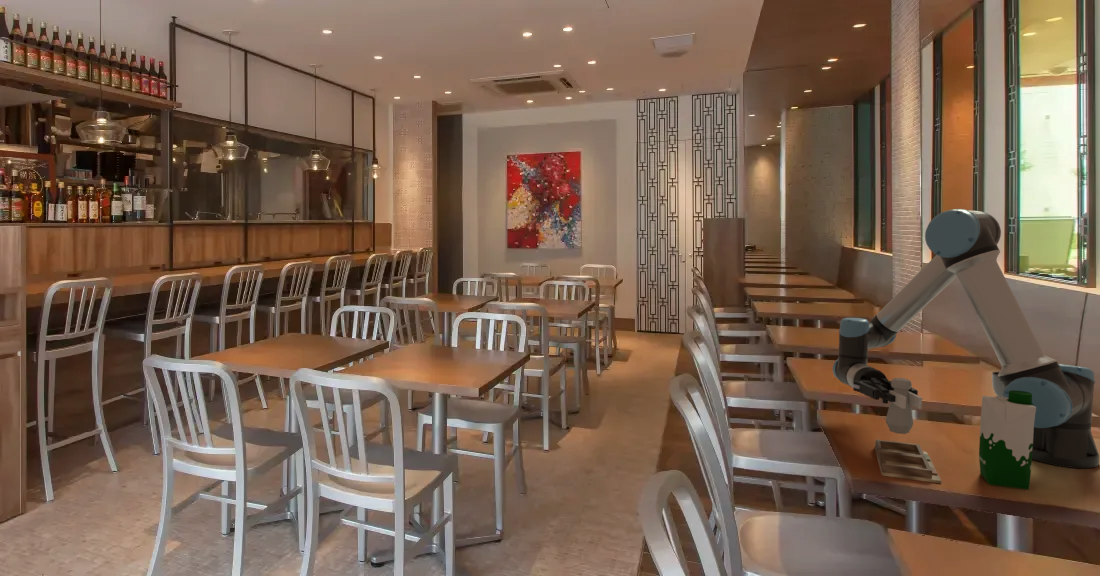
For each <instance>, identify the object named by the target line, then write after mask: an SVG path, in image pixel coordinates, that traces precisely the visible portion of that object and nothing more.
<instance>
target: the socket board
mask: <svg viewBox="0 0 1100 576" xmlns="http://www.w3.org/2000/svg"><path fill="white" fill-rule="evenodd" d="M874 444H875V445H874V450H875V455H876V458H877V461H878V462H877V463H878V465H879V469H880V473H881V476H882V477H883V476H885V477H891V478H897V479H898V478H899V479H905V480H913V481H921V482H926V483H934V484H935V483H936V484H942V479H941V478H940V475H939V473H938V471H937V470H936V467H935V465H934V463H933V462H932V459H931V457H930V456H929V454H928V452H927V451H924V450H923V449H922V446H921V444H917V443H909V442H901V441H894V440H893V441H891V440H885V439H882V440H881V439H875V443H874Z"/></svg>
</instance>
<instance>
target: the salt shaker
mask: <svg viewBox="0 0 1100 576" xmlns="http://www.w3.org/2000/svg"><path fill="white" fill-rule="evenodd" d="M890 381H891V387H892V388H894V392H897V393H899V394H901V395H903V396H905V397H906V409H902V408H900V407H899V406H897V405H895V404H893V403H891V402H890V403H889V407H888V409H887V413H886V417H885V423H886V425H887V427H888V430H889V431H890V432H893V433H895V434H903V435H906V434H908V433H910V431H911V429H912V428H913V426H914V418H913V413H912V405H910V404H909V395H908V392H909V391H908V390H909V389H911V387H913V385H912V381H911V380H910V379H908V378H904V377H893V379H891V380H890Z"/></svg>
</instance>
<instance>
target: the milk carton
mask: <svg viewBox="0 0 1100 576" xmlns="http://www.w3.org/2000/svg"><path fill="white" fill-rule="evenodd" d="M981 397H982V399H981V410H980V411H981V412H980V426H979V429H980V431H979V443H978V444H979V446H978V448H979V449H978V453H979V454H978V459H979V472H980V473H979V474H981V476H982V477H983V479H984V481H986V482H987V484H988V485H991V486H996V487H997V486H998V487H1005V488H1013V489H1023V490H1030V482H1031V481H1030V480H1031V474H1032V473H1031V472H1032V463H1033V461H1032V460H1033V459H1032V450H1033V432H1034V420H1035V413H1036V407H1035V406H1034V405H1033V403H1032V393H1029V392H1025V391H1016V390H1012V391H1009V396H1008V397H1000V396H997V395H996V396H988V395H987V396H986V395H981Z"/></svg>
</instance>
